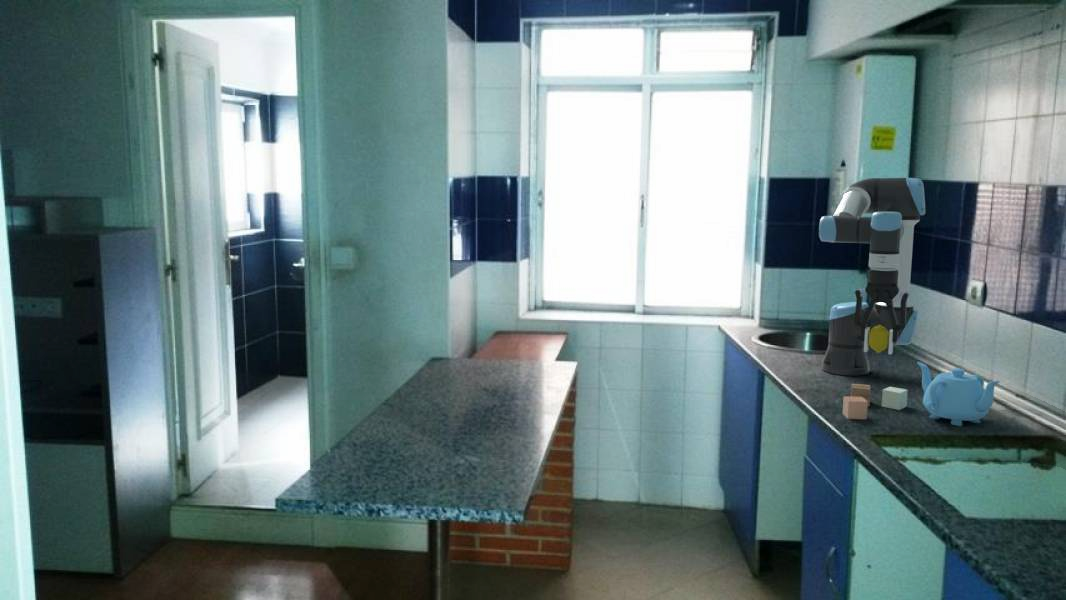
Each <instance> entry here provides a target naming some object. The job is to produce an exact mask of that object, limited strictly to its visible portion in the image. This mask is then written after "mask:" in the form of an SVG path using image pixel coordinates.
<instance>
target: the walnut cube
mask: <svg viewBox="0 0 1066 600" xmlns="http://www.w3.org/2000/svg"><path fill="white" fill-rule="evenodd" d="M871 391H872V390H871V385H870V384H860V383H851V390H850V397H863V398H864V399H865V400H866V401H867V402H868V407H870V403H871Z"/></svg>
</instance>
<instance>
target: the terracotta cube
mask: <svg viewBox="0 0 1066 600" xmlns="http://www.w3.org/2000/svg"><path fill="white" fill-rule="evenodd" d="M842 399H843V401H842V415H843V416H845V419H848V420H867V419H868V407H869V406H868V402H867V401H866V400H865V399H864V398H863V397H851V395H850V396H846V395H845V396H843V398H842Z"/></svg>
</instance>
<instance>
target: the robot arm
mask: <svg viewBox="0 0 1066 600" xmlns="http://www.w3.org/2000/svg"><path fill="white" fill-rule="evenodd" d="M924 187H925V186H924V182H923V180H922V179H920V178H917V177H915V178H914V177H871V178H870V177H869V178H865V179H861V180H858V181H856V182H854V183H852V184H851V185H849V186H847V187H846V188H844V190H843V191H842V192H841V194H840V195H839V198H838V205H837V207H836V210H835V212H834V213H833V215H824V216H821V218H820V219H819V225H818V237H819V239H820V241H821V242H824V243H825V242H827V243H833V244H834V243H845V244H846V243H847V244H848V243H849V244H854V243H855V244H869V255H868V257H869V258H868V267H869V269H868V271H867V284H866V285H865V287H864V288H860V289H859V288H857V289H856V290H855V291H854V294H855V298H856V301H853V302H852V301H849V302H842V303H837V304H834V305H833V306H831V307H830V313H829V317H828V320H829V327H828V328H829V329H828V341H827V342H828V343H827V344H828V345H827V348H826V351H825V353H824V356H823V358H822V362H821V370H822V371H823V372H825V373H830V374H835V375H838V376H840V375H841V376H855V377H857V376H864V375H868V374H870V363H869V360H868V359H869V358H868V356H867V353H868V351H869V347H870V346H869V343H868V336H869V332H870V330H871V329H872V328H874V327H876V326H878V325H882V326H883V327H885V328H886V329H887V330H888V332H889V345H888V349H887V350H888V351H887V352H888V353H887V354H888V355H892V354H893V352H894V350H893V349H894V346H909V345H910V344H911V343H912V341H913V337H914V334H915V333H914V332H915V329H916V324H917V319H918V314H919V311H918V310H916V309H914V303H913V302H912V301H911V300H910V289H911V277H912V276H911V273H912V261H913V260H912V259H913V244H914V232H915V230H914V229H915V225H917V223H919V222H920V220H921V216H924V215H925V214H926V200H925V199H926V198H925V197H926V196H925V188H924ZM864 214H867V215H868V214H869V215H871V216H863V215H864ZM865 294H867V296H868V298H870V300H869V303H867V302H865V301H864V302H863V297H865Z"/></svg>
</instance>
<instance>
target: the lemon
mask: <svg viewBox="0 0 1066 600" xmlns="http://www.w3.org/2000/svg"><path fill="white" fill-rule="evenodd" d="M868 343H869V346H868V347H870V349H872V350H874V351H875V352H876V354H880V353H881V352H883V351H885V350H886V349H887V348H889V332H888V330H887V329H886V328H885V327H883V326H882V325H878V326H876V327H874V328H872V329H871V330H870V332H869V336H868Z"/></svg>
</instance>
